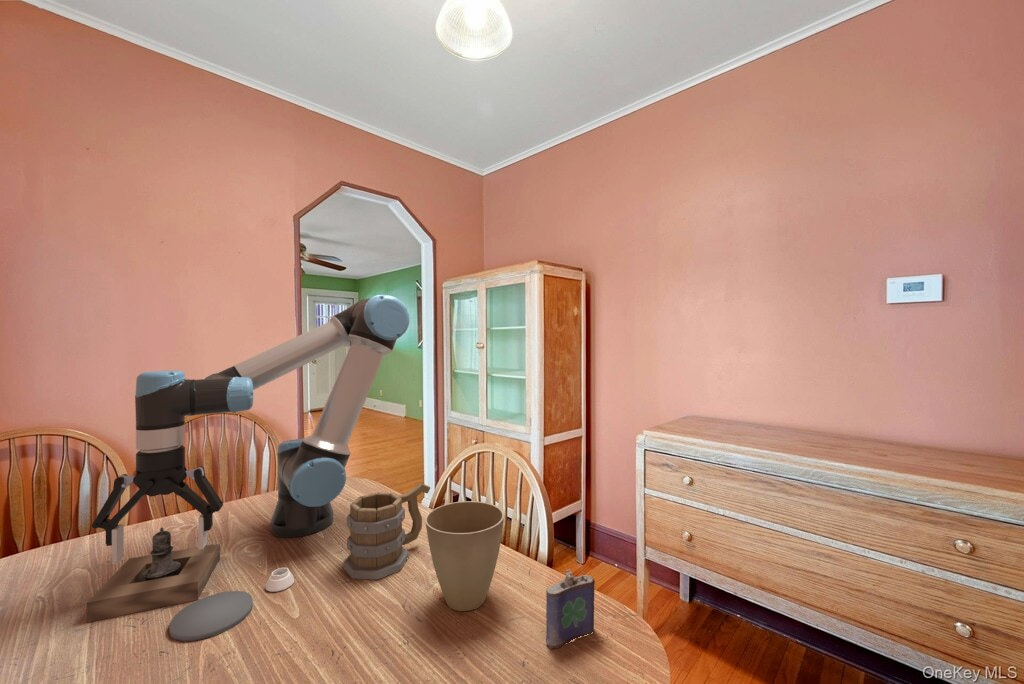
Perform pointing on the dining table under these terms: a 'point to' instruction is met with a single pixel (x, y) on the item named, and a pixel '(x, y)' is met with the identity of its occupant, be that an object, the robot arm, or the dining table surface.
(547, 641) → the flask
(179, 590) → the pocket holder
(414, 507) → the tankard
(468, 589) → the plant pot
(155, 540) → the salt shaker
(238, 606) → the slate mat
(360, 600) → the dining table surface
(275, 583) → the white tapered ring
